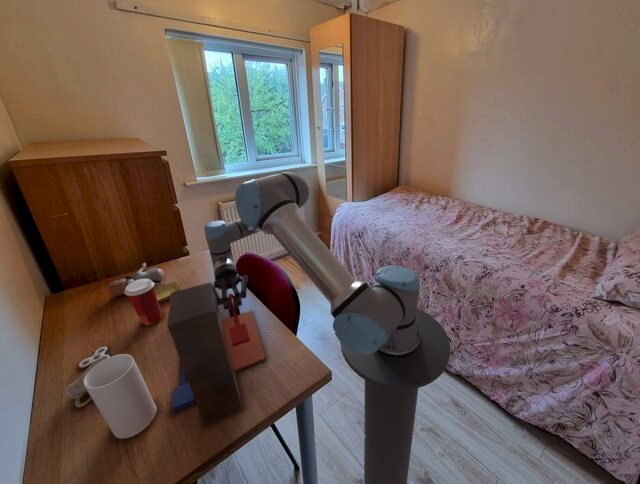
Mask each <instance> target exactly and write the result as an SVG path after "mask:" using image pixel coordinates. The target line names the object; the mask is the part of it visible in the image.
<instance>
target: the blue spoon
mask: <svg viewBox="0 0 640 484" xmlns="http://www.w3.org/2000/svg"><path fill="white" fill-rule="evenodd" d="M180 370H181V373H180V374H181V375H180V386H177V387H174V388H173V391H172V410H173V412H174V413H175V412H177V411H180V410H182V409H185V408H187V407H189V406H192V405H194V404H196V401H195V398H194V395H193V393H192V390H191V387H190V384H189V382H188V379H187V376H186V374H185V371H184V368H183V366H182V365H181V369H180Z"/></svg>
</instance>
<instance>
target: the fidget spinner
mask: <svg viewBox="0 0 640 484" xmlns="http://www.w3.org/2000/svg"><path fill="white" fill-rule="evenodd" d="M106 352H108V347H107V346H102V347H99V348H97V349H96V350H95V351H94V354H93V355H92V356H90V357H88V358H84V359H83V360H81V362H79V363H78V367H79V368H81V369H82V368H86V367H87V368H88V367H89V366H90V365H91V364H92V363H93V362H95V361H96V360H98V359H99V358H102V357H106V358H109V357H111V356H110V355H109V354H106ZM86 362H87V363H86Z"/></svg>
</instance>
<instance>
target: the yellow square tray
mask: <svg viewBox="0 0 640 484" xmlns="http://www.w3.org/2000/svg"><path fill="white" fill-rule="evenodd" d="M165 285H166V286H158V287H157V288H154V289H155V292H156V296H157V299H158V302H161V303H162V302H165V301H167V300H170V294H171V293H172V292H175V291H179V290H183V288H182V286H181V285H180V284H179V283H178V282H177V281H175V280H174V281H171V282H169V283H166V284H165Z"/></svg>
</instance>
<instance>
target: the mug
mask: <svg viewBox="0 0 640 484" xmlns="http://www.w3.org/2000/svg"><path fill="white" fill-rule="evenodd" d="M98 358H99V357H98ZM105 359H107V357H102V358H99V359H98V360H96V361H95V362H93V363H92V364H90V365H88V366H87V368H86V369H85V371H84V372H83V373H82V374H81V375H80V376H79V377H78V378H77V379H76V380H74V381H73V382H71V383H70V384H68V385H67V387H66V389H65V395H66V397H67V398H69V399H70V400H75V401H74V406H75V407H77V408H82V407H84V406H86V405H88V404H89V403H91V402H92V401H93V399H92V398H91V396H90V397H89V398H88V399H87V400H86V401H83V402H81V399H82V398H83V397H84V396H85V395H87V393H88V391H87V389H86V388H85V386H84V378H85V376H86V374H87V373H88V372H89V371H90V370H91V369H92V368H93V367H94V366H95V365H97V364H98V363H100V362H101V361H103V360H105ZM88 394H89V393H88Z"/></svg>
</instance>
